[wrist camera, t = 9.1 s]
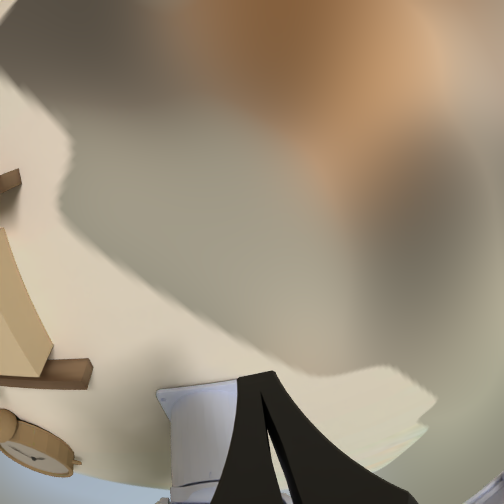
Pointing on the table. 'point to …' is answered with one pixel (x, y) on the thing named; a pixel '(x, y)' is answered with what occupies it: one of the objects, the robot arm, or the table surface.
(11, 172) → the frame
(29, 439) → the alarm clock
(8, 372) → the small carton
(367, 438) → the table surface
